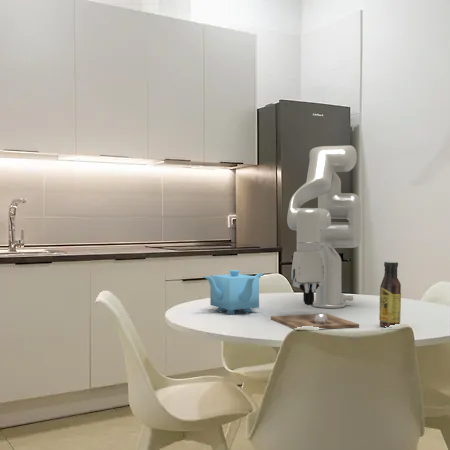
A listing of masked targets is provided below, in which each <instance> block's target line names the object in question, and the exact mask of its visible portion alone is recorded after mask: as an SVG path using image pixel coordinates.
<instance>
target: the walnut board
mask: <svg viewBox="0 0 450 450" xmlns="http://www.w3.org/2000/svg"><path fill="white" fill-rule="evenodd" d="M317 314H318V313H316V314H315V313H314V314H313V313H312V314H294V315H293V314H292V315H290V314H289V315H287V314H286V315H271V316H270V320H272V321H274V322H277V323H279V324H282V325H283V326H286V327H289V328H291V329H293V330H295V329H294V328H297V327H302V326H313V327H319V328H327V329H326V330H337V329H339V330H340V329H349V328H350V329H354V328H360V324H359V323H357V322H353V321H351V320H348V319H345V318H342V317H338V316H336V315H335V316H334V315H333V314H328V313H324V314H325V315H326V317H327V323H326V324H315V322H314V318H315V316H316V315H317Z"/></svg>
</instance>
